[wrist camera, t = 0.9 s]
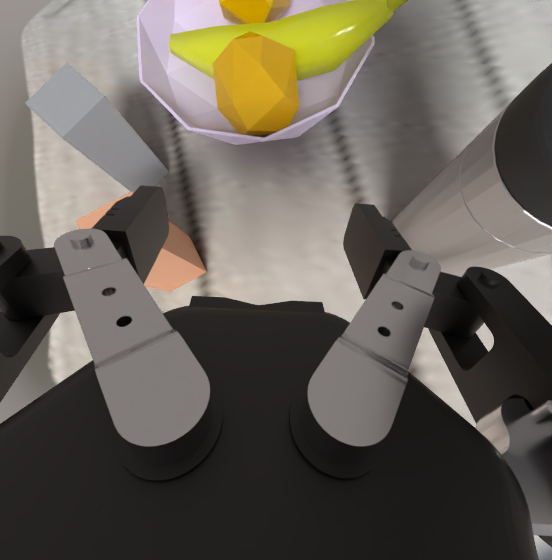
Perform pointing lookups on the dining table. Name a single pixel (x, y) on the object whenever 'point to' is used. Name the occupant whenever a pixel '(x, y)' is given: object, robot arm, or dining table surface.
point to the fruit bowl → (255, 61)
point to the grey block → (96, 129)
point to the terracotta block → (162, 254)
